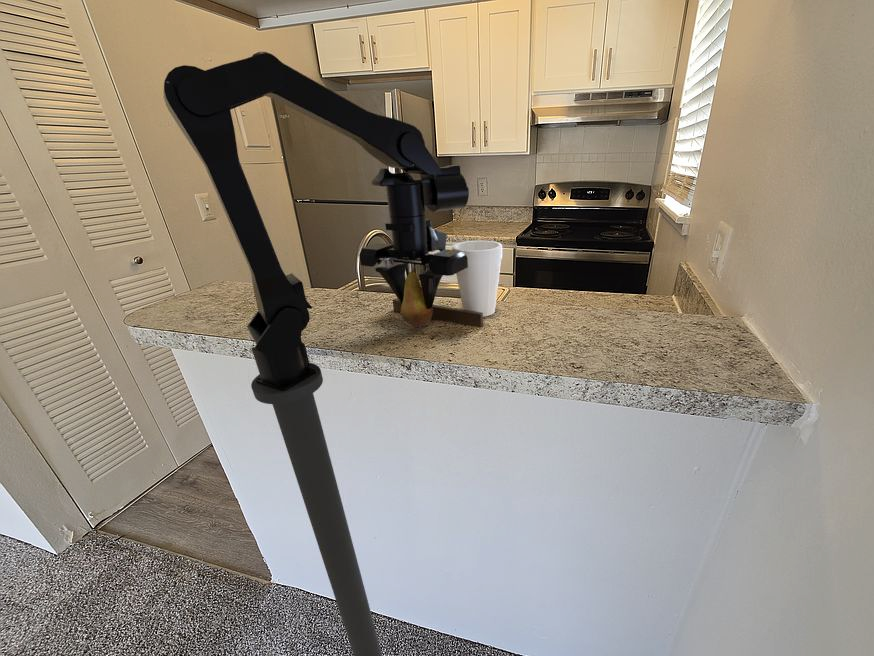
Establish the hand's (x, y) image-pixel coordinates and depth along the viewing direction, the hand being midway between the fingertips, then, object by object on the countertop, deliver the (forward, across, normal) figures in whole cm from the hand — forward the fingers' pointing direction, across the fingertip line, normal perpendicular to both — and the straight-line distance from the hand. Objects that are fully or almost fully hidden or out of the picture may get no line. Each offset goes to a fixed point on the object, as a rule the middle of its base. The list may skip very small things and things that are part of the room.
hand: (417, 306), depth 72 cm
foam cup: (+4, -6, -12) cm, 14 cm away
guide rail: (+4, 0, -6) cm, 7 cm away
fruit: (+4, 0, 0) cm, 4 cm away
